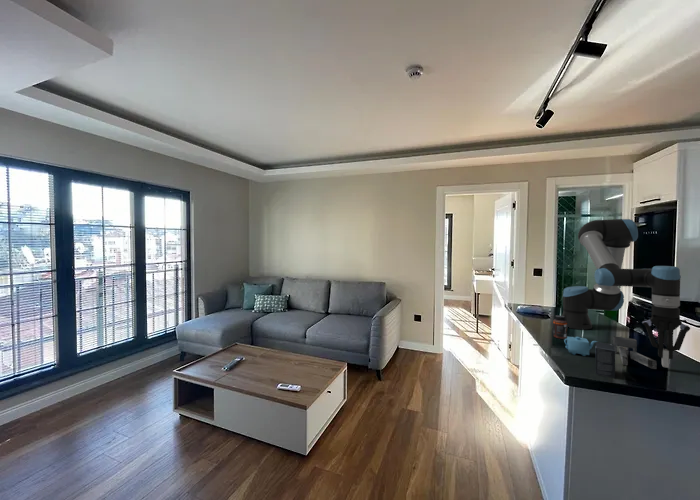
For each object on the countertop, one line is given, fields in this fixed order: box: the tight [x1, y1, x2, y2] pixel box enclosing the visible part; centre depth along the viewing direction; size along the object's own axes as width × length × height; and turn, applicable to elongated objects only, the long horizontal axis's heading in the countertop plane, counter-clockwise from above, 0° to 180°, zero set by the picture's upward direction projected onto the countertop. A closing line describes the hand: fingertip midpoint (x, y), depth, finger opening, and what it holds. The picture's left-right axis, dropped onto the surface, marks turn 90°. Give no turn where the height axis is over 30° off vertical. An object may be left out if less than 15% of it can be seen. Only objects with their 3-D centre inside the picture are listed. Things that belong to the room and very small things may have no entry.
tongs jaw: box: [629, 350, 658, 370], centre depth 121 cm, size 11×2×3 cm, turn 172°
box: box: [595, 341, 616, 379], centre depth 113 cm, size 8×6×11 cm
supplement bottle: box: [552, 314, 568, 340], centre depth 155 cm, size 6×6×11 cm
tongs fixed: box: [618, 346, 629, 367], centre depth 125 cm, size 15×3×3 cm, turn 142°
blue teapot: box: [563, 335, 599, 357], centre depth 133 cm, size 12×6×8 cm, turn 60°
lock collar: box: [613, 335, 638, 354], centre depth 131 cm, size 3×7×7 cm, turn 52°
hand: (665, 366), depth 115 cm, fingers closed
